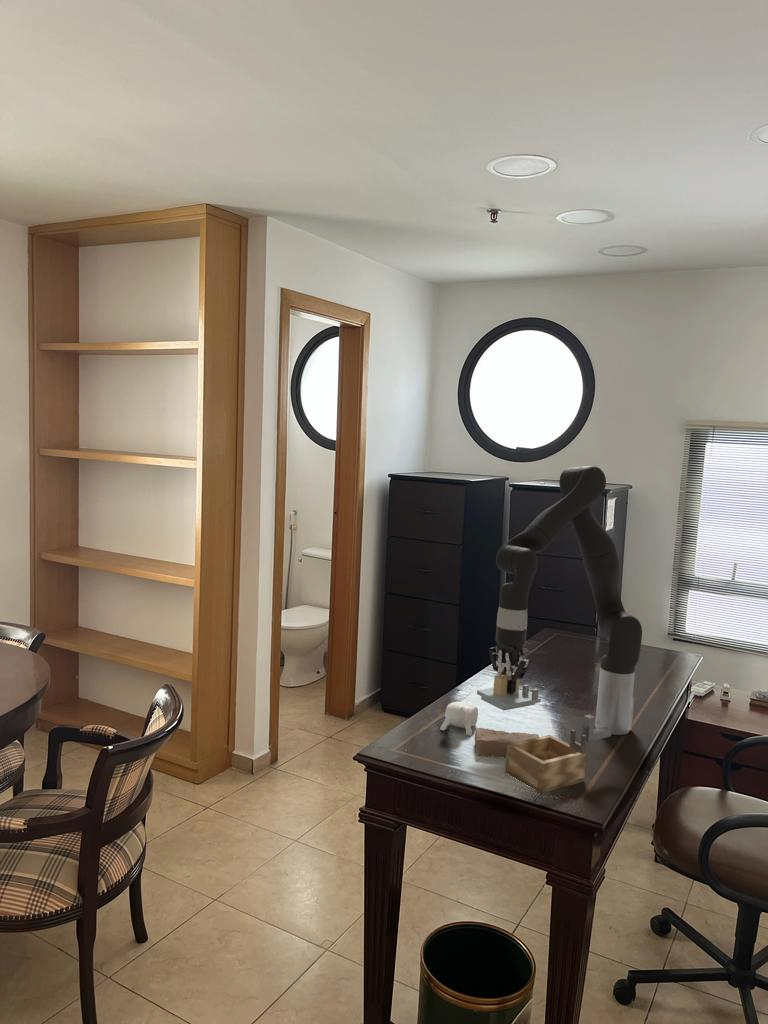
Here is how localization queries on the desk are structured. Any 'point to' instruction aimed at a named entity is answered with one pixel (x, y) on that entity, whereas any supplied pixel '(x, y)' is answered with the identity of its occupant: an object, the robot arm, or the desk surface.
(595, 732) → the grey angled block
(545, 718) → the desk surface
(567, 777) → the wooden box
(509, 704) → the lid
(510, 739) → the brick
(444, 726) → the white animal figurine
